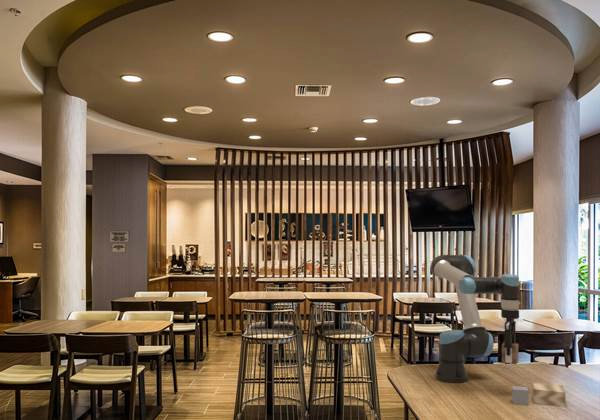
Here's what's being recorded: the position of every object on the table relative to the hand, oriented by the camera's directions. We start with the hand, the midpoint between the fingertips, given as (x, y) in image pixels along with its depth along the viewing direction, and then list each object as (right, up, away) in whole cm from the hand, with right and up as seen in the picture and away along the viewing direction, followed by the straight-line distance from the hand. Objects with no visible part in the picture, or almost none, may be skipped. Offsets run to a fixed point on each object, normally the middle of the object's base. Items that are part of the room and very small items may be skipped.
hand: (510, 361), depth 254 cm
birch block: (+12, -14, -12) cm, 22 cm away
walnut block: (0, 0, 0) cm, 0 cm away
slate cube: (-1, -14, -14) cm, 20 cm away
